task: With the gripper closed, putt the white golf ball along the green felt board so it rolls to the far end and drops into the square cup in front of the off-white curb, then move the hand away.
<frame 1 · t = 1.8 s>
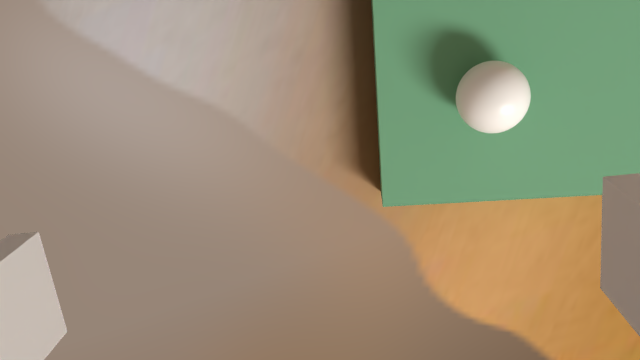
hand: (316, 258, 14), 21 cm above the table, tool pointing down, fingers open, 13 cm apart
putting board: (577, 76, 33), on the table
golf ball: (485, 91, 31), point 2 cm above the table, touching putting board
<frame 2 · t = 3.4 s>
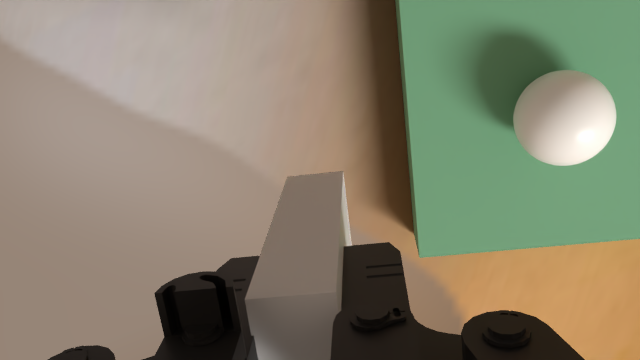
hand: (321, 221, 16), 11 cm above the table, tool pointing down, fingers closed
golf ball: (548, 108, 24), point 2 cm above the table, touching putting board
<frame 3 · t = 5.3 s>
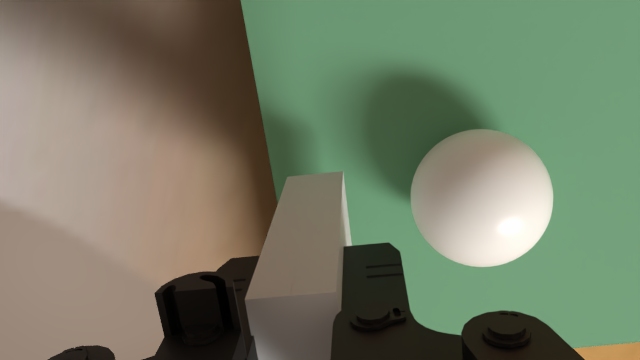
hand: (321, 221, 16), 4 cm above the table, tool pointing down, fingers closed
putting board: (630, 129, 19), on the table
golf ball: (467, 176, 17), point 2 cm above the table, touching putting board
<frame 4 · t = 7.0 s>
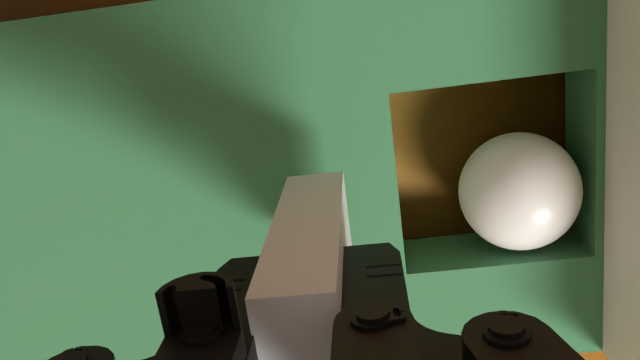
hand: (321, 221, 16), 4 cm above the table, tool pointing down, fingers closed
putting board: (279, 176, 20), on the table
golf ball: (458, 197, 18), point 2 cm above the table, tilted 86°
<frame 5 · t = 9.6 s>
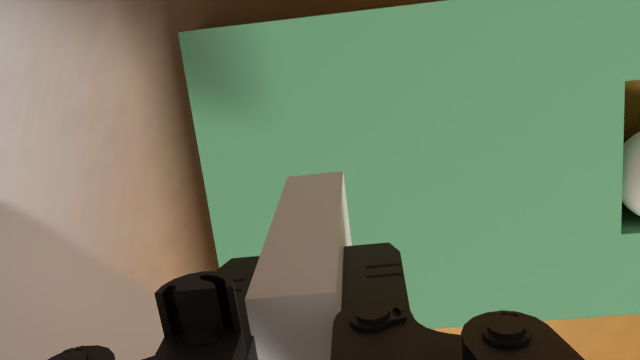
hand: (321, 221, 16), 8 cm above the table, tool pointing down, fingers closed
putting board: (496, 153, 23), on the table
golf ball: (623, 164, 23), resting in putting board, tilted 29°
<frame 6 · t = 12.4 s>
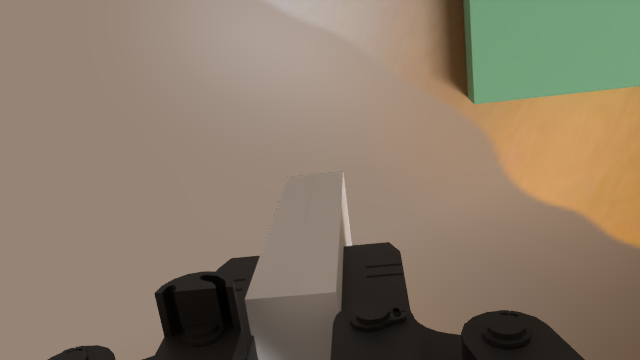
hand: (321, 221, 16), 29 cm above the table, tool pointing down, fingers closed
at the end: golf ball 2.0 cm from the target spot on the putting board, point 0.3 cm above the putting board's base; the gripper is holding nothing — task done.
